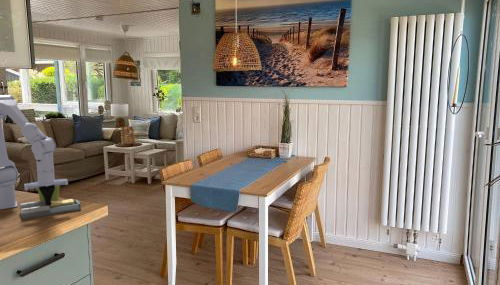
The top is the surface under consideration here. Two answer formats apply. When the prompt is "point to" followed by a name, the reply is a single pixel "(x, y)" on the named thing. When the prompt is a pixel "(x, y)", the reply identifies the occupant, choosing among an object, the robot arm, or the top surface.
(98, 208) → the top surface
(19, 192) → the top surface
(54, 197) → the plant pot
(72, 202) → the brass chip
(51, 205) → the brass chip
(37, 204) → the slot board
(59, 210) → the tray
